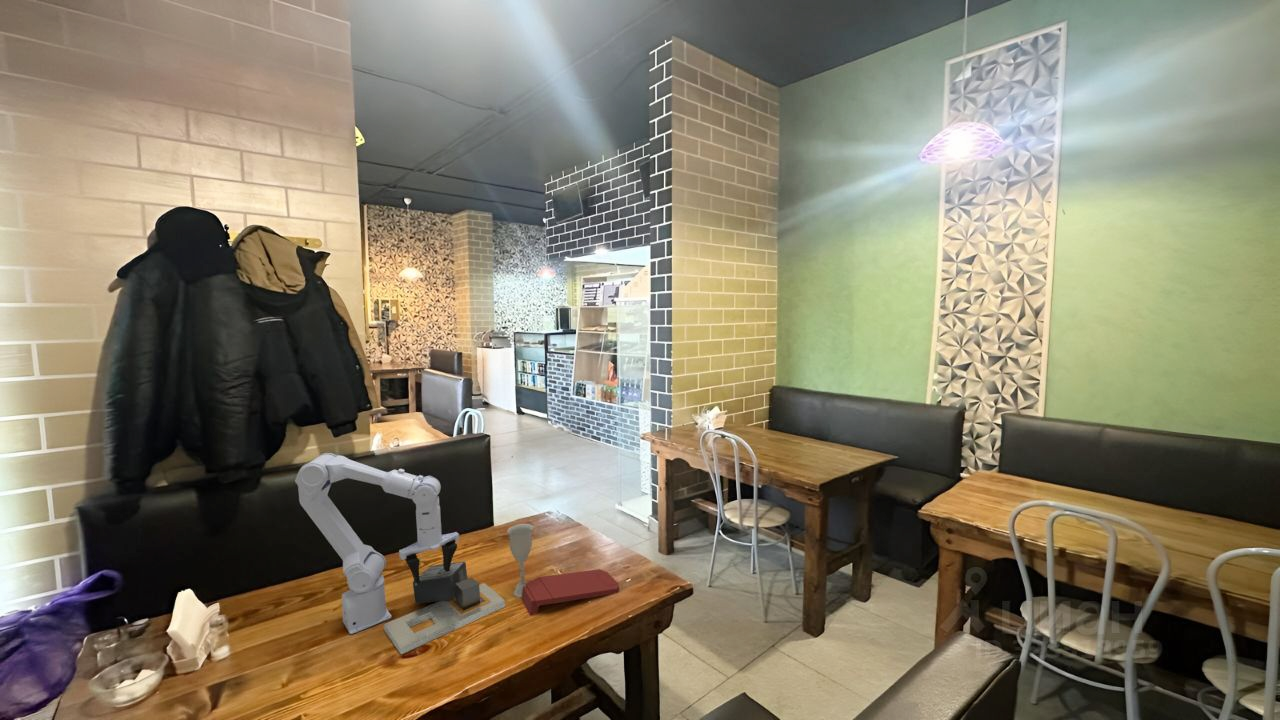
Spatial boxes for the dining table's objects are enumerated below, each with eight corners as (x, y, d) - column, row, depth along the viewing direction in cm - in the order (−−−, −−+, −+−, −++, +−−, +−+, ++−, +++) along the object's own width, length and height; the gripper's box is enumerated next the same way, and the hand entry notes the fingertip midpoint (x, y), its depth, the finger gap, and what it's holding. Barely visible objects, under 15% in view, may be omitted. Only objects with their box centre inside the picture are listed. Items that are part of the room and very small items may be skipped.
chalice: (528, 600, 132) (526, 535, 130) (505, 597, 133) (502, 534, 132) (539, 585, 139) (537, 524, 137) (517, 583, 140) (514, 522, 139)
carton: (602, 584, 146) (519, 596, 134) (603, 568, 146) (521, 579, 134) (620, 605, 136) (532, 620, 123) (622, 587, 136) (534, 601, 123)
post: (463, 616, 125) (462, 590, 125) (456, 609, 129) (455, 583, 128) (480, 609, 128) (479, 583, 128) (473, 602, 132) (471, 577, 131)
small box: (431, 588, 139) (414, 605, 129) (429, 565, 140) (411, 580, 129) (468, 583, 139) (453, 600, 129) (465, 560, 140) (450, 575, 129)
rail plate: (400, 654, 111) (400, 646, 111) (384, 630, 120) (384, 623, 120) (505, 606, 129) (504, 599, 129) (484, 589, 138) (484, 582, 138)
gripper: (404, 539, 118) (408, 593, 120) (462, 521, 128) (465, 571, 130) (395, 530, 124) (398, 582, 125) (451, 513, 133) (454, 561, 135)
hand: (432, 575), depth 127 cm, fingers open, 7 cm apart
